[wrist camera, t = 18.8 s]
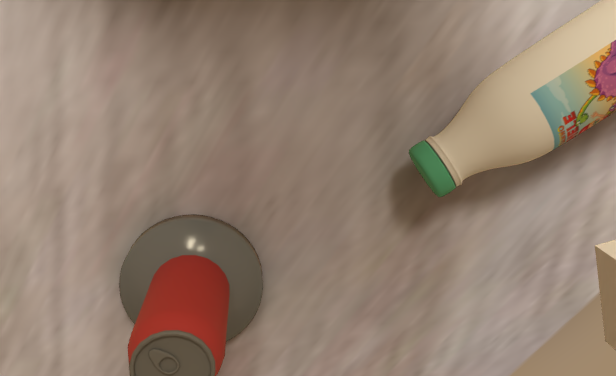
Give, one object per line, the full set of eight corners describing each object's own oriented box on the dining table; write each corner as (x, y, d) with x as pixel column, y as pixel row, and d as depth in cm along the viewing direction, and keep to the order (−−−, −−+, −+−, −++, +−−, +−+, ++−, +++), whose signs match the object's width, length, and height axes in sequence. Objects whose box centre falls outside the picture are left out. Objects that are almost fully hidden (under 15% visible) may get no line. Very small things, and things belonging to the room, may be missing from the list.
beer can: (189, 236, 48) (169, 305, 36) (246, 286, 50) (244, 367, 38) (134, 288, 49) (98, 372, 37) (193, 336, 51) (175, 430, 39)
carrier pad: (102, 312, 51) (98, 320, 49) (154, 192, 48) (151, 198, 47) (229, 358, 53) (228, 367, 52) (284, 246, 51) (285, 253, 49)
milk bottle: (607, 33, 49) (408, 162, 51) (615, -33, 43) (386, 117, 45) (676, 91, 45) (456, 229, 47) (696, 28, 39) (440, 191, 41)
